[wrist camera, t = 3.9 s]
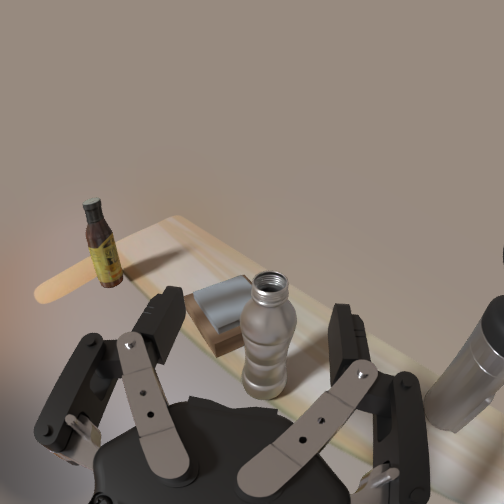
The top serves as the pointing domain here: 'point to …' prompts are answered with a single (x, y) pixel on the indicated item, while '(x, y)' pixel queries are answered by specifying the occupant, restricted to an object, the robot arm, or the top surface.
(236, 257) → the top surface
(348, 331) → the robot arm
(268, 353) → the silver bottle
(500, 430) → the top surface
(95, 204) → the sauce bottle
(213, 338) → the plinth
